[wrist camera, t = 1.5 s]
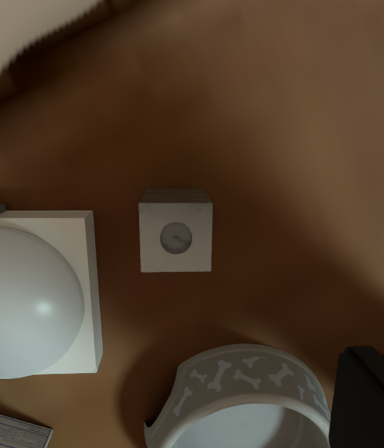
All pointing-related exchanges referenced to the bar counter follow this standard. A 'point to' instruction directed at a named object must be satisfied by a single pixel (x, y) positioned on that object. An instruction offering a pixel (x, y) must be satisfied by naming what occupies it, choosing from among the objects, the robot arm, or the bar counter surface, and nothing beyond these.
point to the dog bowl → (242, 402)
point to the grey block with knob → (175, 230)
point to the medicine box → (22, 434)
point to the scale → (48, 293)
